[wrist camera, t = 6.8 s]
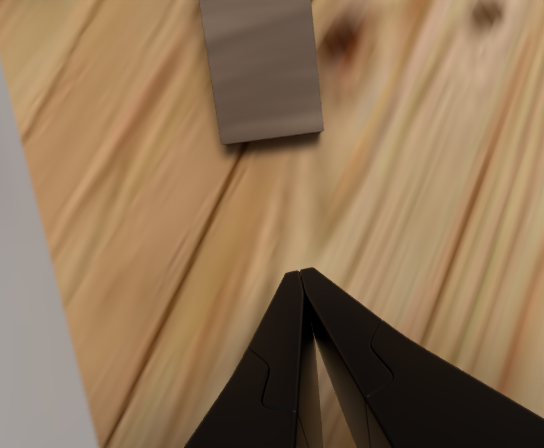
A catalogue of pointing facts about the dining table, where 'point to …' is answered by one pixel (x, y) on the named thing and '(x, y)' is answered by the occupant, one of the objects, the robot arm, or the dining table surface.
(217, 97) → the domino
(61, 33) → the dining table surface
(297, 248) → the dining table surface
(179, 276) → the dining table surface
